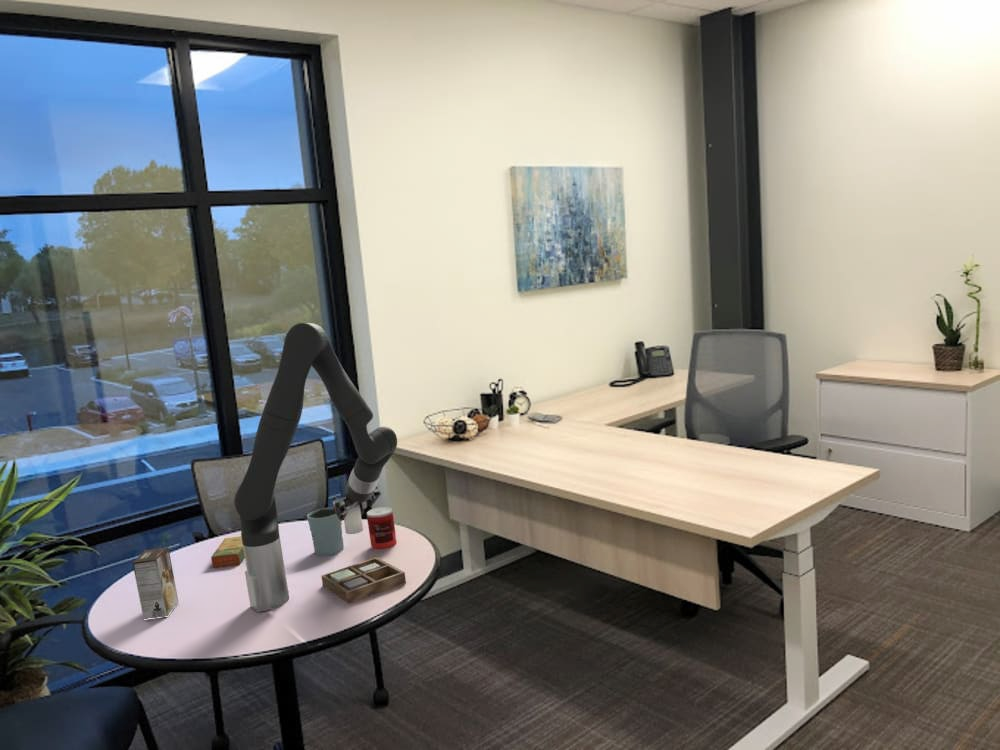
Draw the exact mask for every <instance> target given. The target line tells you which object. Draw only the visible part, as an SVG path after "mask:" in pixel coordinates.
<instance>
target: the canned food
mask: <svg viewBox="0 0 1000 750" xmlns="http://www.w3.org/2000/svg"><path fill="white" fill-rule="evenodd" d="M366 519H367V525H368V533H369V539H370V541H369V542H370V546H371V548H372V549H376V550H383V549H389V548H392V547H393V546H396V544H397V534H396V533H397V532H396V527H395V526H396V525H395V519H394V512H393V509H392V508H391V507H387V506H380V507H375V508H372V509H369V510H368V511H367V512H366Z"/></svg>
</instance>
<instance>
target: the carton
mask: <svg viewBox="0 0 1000 750" xmlns="http://www.w3.org/2000/svg"><path fill="white" fill-rule="evenodd" d="M210 559H211V566H212V569H213V568H215V569H221V568H220V567H222V568H228V566H229V567H236V565H237V566H240V564H242V563H243V562H244V561H245V556H244V549H243V544H242V538H241V535H240V536H233V537H227V538H224V539H223V540H222V542H221V543H220V545H219V546H218V547H217V549H216V550H215V551H214V552H213V553H212V556H211V558H210Z"/></svg>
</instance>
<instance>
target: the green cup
mask: <svg viewBox="0 0 1000 750" xmlns="http://www.w3.org/2000/svg"><path fill="white" fill-rule="evenodd" d="M306 518H307V522H308V525H309V530H310V532H311V533H310V534H311V538H312V543H313V544H312V545H313V550H314V553H315V555H317V556H321V557H325V556H324V555H327V556H331V554H333V555H335V553H336V554H338V552H339V553H341V552H342V551H343V550H344V537H343V527H342V526H343V525H342V524H343V523H342V521H341V520H339V518H338V516H337V515H336V513H335V510H334V509H333V506H332V507H324V508H323V507H322V508H318V509H315V510H313V511H311V512H309V513H308V514H307V515H306ZM341 550H342V551H341Z"/></svg>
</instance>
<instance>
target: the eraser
mask: <svg viewBox="0 0 1000 750" xmlns="http://www.w3.org/2000/svg"><path fill="white" fill-rule="evenodd" d="M367 584H368V581H366V580H365V579H363V578H361V577H360V578H357V579H354V580H351V581H349V582H346V583H343V585H344V588H345V589H347V590H348V591H350V590H353V589H355V588H358V587H361V586H364V585H367Z"/></svg>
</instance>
